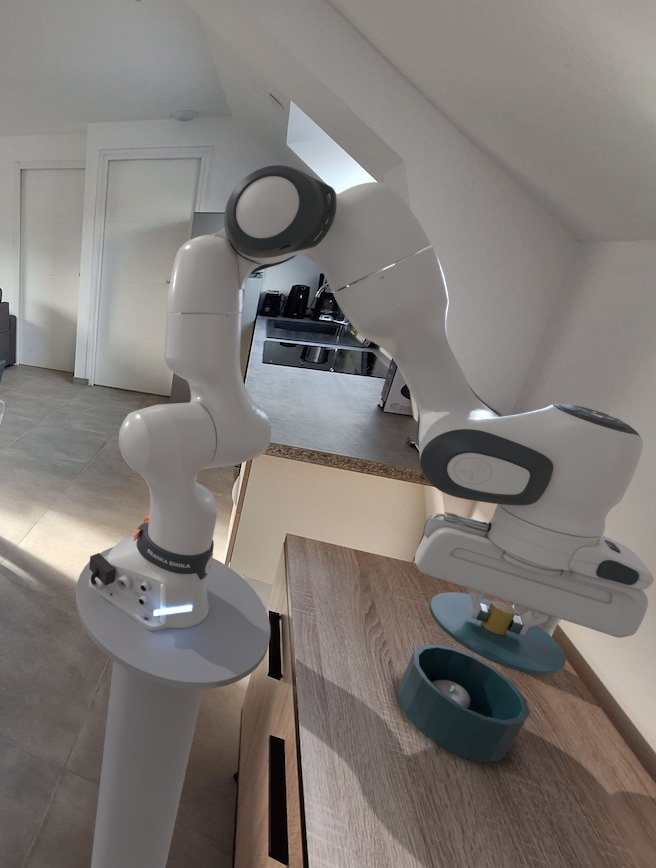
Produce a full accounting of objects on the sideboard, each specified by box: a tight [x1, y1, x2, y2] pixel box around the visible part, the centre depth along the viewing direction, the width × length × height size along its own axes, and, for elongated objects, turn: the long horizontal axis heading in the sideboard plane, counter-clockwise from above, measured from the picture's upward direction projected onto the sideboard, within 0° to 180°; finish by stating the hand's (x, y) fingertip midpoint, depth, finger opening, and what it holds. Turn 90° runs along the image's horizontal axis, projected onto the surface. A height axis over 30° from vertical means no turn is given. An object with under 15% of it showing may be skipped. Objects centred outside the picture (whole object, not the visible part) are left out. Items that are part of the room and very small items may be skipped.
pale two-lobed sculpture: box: [431, 680, 470, 708], centre depth 66 cm, size 4×8×5 cm
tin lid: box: [428, 591, 566, 676], centre depth 60 cm, size 13×13×5 cm
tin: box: [397, 643, 531, 764], centre depth 65 cm, size 12×12×8 cm
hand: (495, 624), depth 60 cm, fingers closed on tin lid, 2 cm apart
